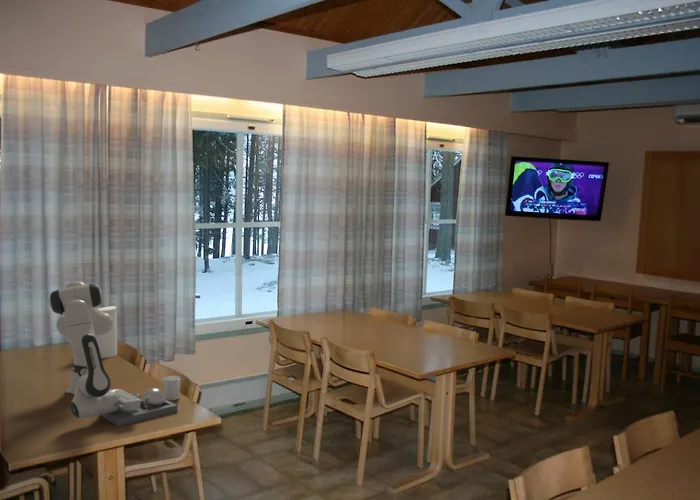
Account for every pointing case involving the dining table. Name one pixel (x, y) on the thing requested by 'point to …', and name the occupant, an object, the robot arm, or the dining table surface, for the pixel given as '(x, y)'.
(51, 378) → the dining table surface
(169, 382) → the white cup
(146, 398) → the steel ball
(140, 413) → the tray
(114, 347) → the cylinder
